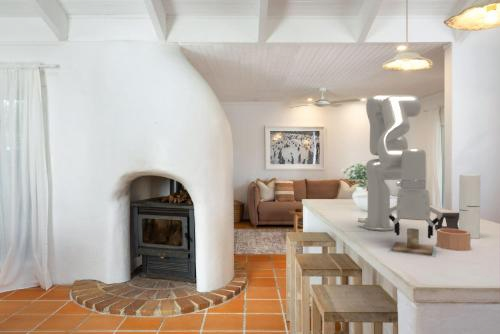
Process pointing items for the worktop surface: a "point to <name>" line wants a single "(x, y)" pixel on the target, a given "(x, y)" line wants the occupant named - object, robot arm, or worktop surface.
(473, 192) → the cylindrical container
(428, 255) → the slate mat
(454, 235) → the terracotta bowl
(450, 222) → the portable electronic device stand
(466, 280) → the worktop surface
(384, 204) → the robot arm
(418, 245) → the square wooden lid
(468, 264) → the worktop surface
